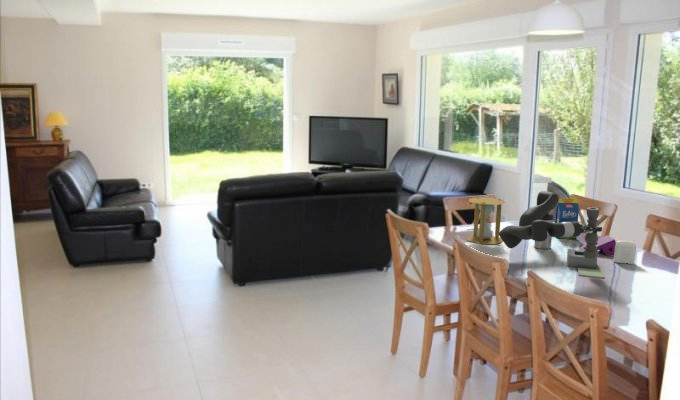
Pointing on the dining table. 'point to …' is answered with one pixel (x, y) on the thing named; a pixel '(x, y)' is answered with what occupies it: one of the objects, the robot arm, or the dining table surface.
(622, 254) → the photo printer
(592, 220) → the candle holder
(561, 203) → the blue food package
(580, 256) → the socket block
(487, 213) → the hourglass
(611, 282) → the dining table surface
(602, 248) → the mounting bracket
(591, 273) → the mat
